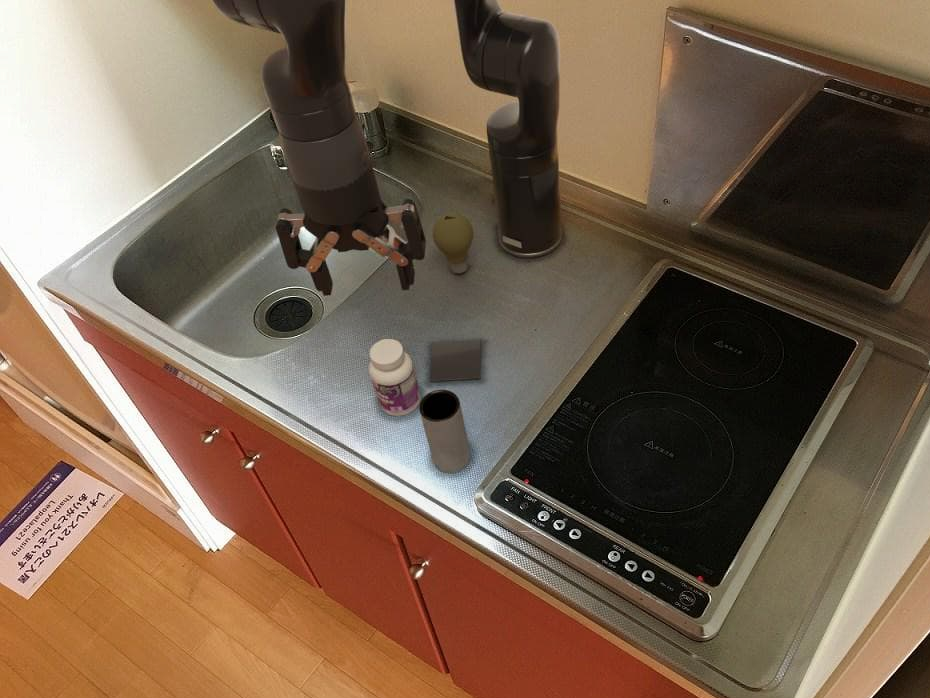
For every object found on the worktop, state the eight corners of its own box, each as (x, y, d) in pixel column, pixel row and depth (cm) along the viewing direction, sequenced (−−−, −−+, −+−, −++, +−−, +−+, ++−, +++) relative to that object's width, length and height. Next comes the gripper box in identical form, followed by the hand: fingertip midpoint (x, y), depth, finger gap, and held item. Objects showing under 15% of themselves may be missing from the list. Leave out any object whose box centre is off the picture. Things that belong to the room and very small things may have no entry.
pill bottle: (371, 409, 103) (354, 359, 96) (394, 379, 106) (379, 328, 99) (407, 423, 102) (392, 373, 94) (429, 392, 104) (416, 342, 97)
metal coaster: (432, 345, 110) (432, 343, 109) (480, 342, 109) (480, 340, 109) (430, 382, 105) (429, 380, 105) (480, 379, 105) (480, 377, 105)
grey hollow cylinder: (450, 435, 100) (438, 382, 92) (478, 454, 98) (468, 401, 90) (425, 461, 98) (410, 408, 90) (453, 480, 96) (440, 428, 88)
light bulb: (445, 288, 116) (434, 234, 108) (436, 263, 120) (425, 209, 112) (483, 279, 117) (475, 224, 109) (473, 254, 120) (465, 199, 113)
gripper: (408, 132, 78) (434, 259, 90) (261, 143, 79) (307, 268, 91) (402, 181, 73) (431, 308, 86) (246, 192, 74) (297, 317, 86)
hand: (367, 287), depth 88 cm, fingers open, 8 cm apart
